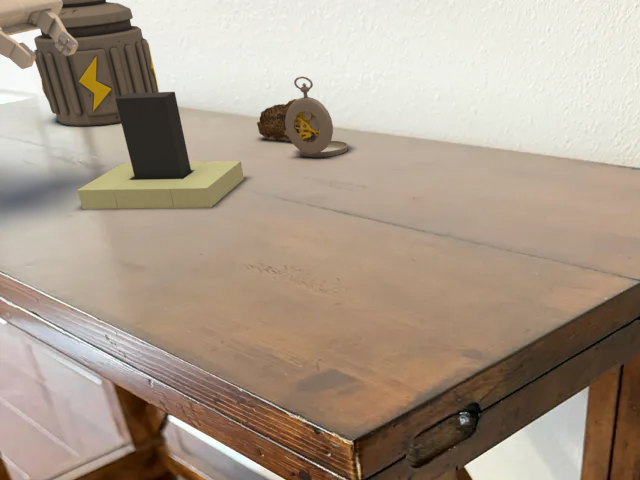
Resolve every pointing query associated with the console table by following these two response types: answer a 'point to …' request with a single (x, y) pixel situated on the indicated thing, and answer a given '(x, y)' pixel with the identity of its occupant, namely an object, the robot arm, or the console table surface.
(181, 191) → the seat pad
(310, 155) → the pocket watch
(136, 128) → the back pad
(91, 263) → the console table surface
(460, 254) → the console table surface
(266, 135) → the rock sample
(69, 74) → the grey power cell canister
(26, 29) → the robot arm
